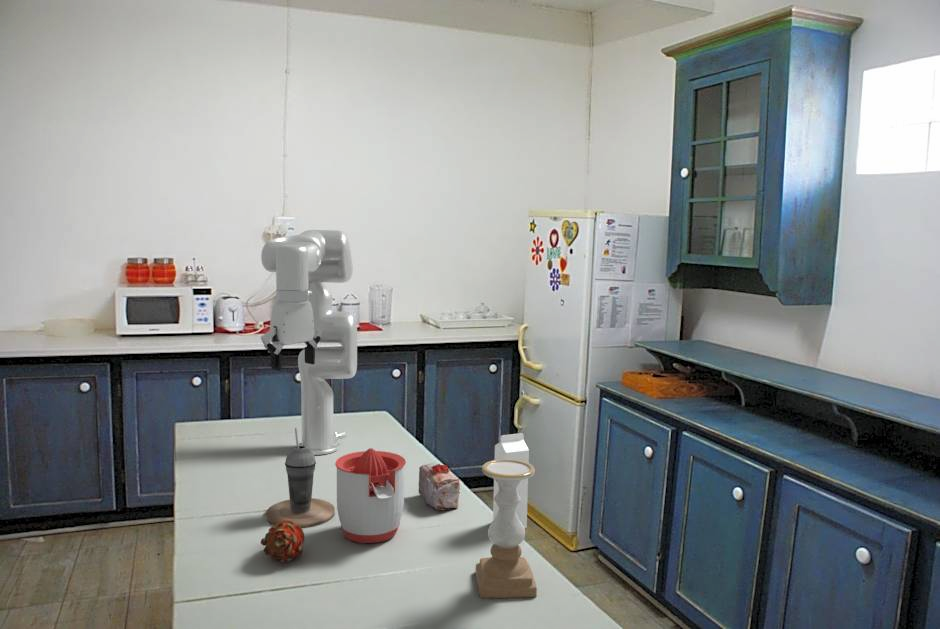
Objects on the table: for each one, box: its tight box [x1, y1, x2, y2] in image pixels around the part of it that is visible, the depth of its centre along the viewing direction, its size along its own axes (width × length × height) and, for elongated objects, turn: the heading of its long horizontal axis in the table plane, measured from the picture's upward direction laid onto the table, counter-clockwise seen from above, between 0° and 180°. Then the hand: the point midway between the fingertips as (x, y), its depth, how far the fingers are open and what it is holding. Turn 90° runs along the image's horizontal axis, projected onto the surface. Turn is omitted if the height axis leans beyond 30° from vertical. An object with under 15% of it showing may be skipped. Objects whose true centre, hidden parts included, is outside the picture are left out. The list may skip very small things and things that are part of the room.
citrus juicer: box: [334, 447, 407, 544], centre depth 167 cm, size 16×17×20 cm
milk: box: [492, 432, 530, 529], centre depth 174 cm, size 6×6×22 cm
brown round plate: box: [265, 497, 336, 529], centre depth 179 cm, size 16×16×1 cm
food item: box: [418, 462, 461, 511], centre depth 188 cm, size 14×8×10 cm, turn 26°
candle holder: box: [474, 459, 538, 599], centre depth 146 cm, size 11×11×24 cm
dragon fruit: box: [260, 520, 305, 563], centre depth 156 cm, size 8×8×12 cm
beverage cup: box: [284, 427, 317, 513], centre depth 178 cm, size 7×7×20 cm
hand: (293, 366), depth 181 cm, fingers open, 9 cm apart
